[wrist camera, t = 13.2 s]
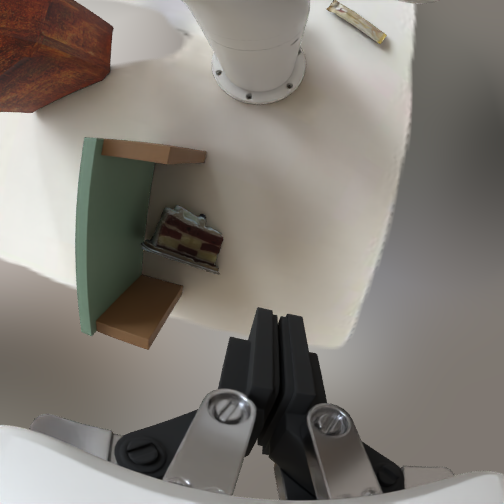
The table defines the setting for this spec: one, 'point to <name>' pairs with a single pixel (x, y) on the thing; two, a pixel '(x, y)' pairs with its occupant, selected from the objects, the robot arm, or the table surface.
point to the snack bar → (357, 21)
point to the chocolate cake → (185, 239)
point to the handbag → (49, 52)
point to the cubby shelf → (120, 239)
